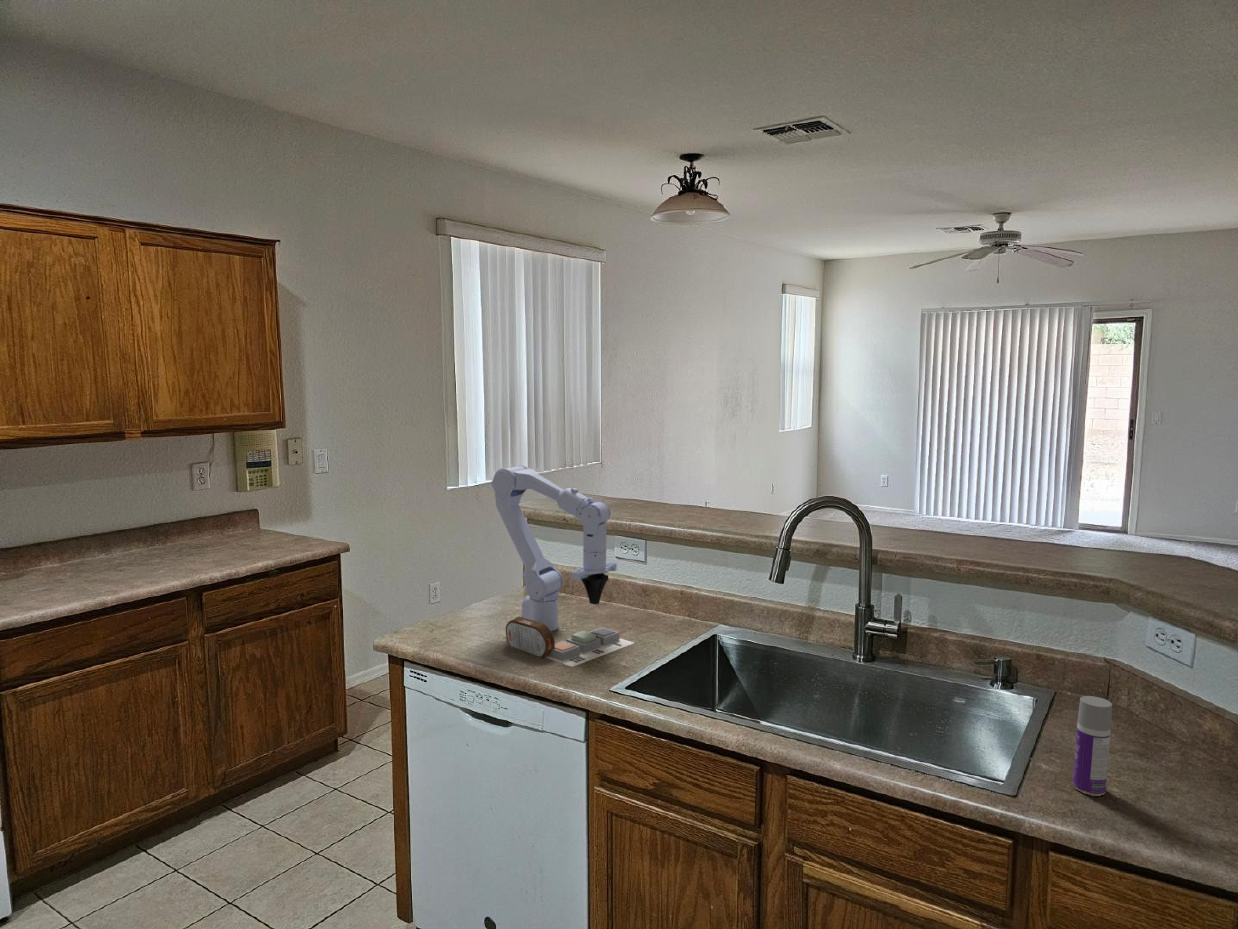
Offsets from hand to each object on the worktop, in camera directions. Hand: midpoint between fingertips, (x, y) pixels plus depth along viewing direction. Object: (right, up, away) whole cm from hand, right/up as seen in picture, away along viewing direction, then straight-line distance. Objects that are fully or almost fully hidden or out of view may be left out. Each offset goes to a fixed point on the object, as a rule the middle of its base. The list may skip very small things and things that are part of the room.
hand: (594, 603), depth 197 cm
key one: (+2, -9, -2) cm, 9 cm away
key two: (-2, -8, -8) cm, 11 cm away
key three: (-7, -10, -13) cm, 18 cm away
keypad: (-1, -10, -8) cm, 13 cm away
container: (+83, -18, -69) cm, 109 cm away
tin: (-15, -11, -10) cm, 21 cm away
